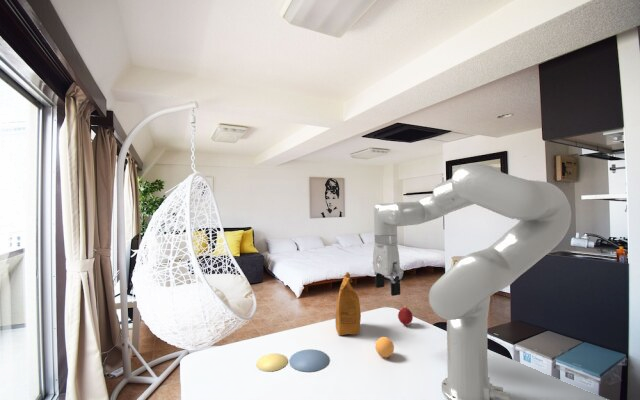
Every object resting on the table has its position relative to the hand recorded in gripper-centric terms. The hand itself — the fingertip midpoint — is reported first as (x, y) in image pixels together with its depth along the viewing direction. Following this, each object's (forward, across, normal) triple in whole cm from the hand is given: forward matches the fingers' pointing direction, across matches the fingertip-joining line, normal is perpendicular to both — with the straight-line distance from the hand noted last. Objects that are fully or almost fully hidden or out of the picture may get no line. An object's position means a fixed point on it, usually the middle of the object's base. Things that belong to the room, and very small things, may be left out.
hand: (387, 290), depth 97 cm
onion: (+21, -17, +18) cm, 33 cm away
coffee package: (+21, -22, -5) cm, 31 cm away
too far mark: (+21, -9, -38) cm, 44 cm away
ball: (+18, 0, -2) cm, 18 cm away
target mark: (+21, -6, -26) cm, 34 cm away
